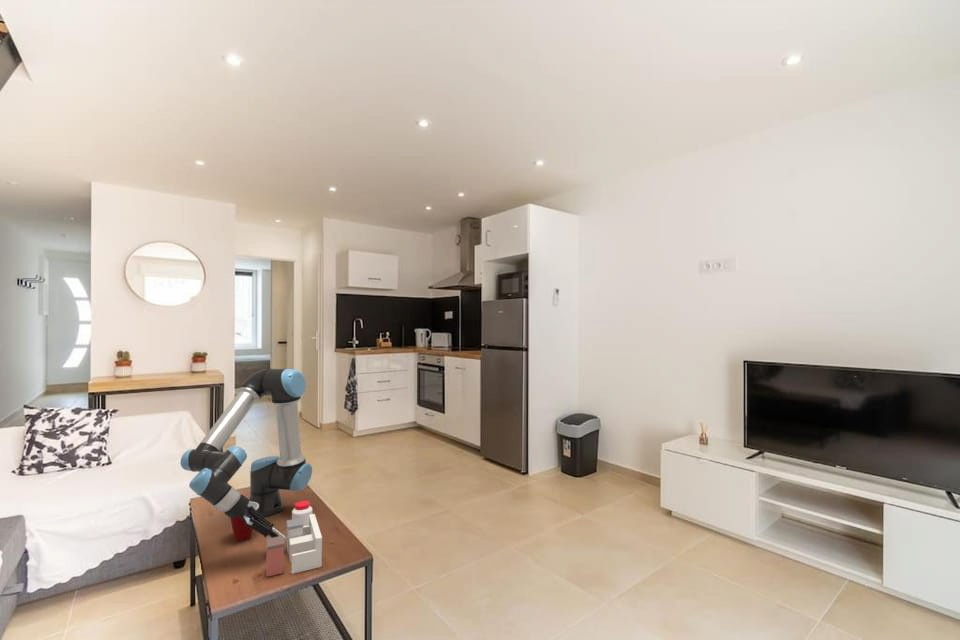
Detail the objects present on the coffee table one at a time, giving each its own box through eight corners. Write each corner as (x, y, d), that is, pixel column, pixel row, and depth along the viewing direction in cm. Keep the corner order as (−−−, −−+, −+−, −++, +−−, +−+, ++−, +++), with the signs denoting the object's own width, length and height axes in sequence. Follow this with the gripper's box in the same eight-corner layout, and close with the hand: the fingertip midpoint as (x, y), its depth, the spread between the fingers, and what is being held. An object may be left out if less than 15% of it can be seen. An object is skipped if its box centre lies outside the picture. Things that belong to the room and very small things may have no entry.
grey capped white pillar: (286, 546, 161) (286, 520, 161) (301, 543, 163) (301, 517, 164) (287, 554, 155) (287, 527, 156) (302, 551, 158) (303, 524, 158)
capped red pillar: (265, 567, 147) (266, 538, 147) (282, 563, 149) (282, 535, 150) (266, 577, 142) (266, 547, 142) (283, 573, 144) (284, 543, 144)
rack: (287, 545, 162) (287, 518, 163) (314, 539, 167) (314, 513, 167) (291, 573, 144) (292, 543, 144) (321, 566, 148) (322, 537, 148)
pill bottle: (304, 536, 170) (305, 508, 170) (287, 534, 171) (287, 506, 171) (316, 527, 177) (316, 500, 177) (299, 525, 179) (299, 498, 179)
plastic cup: (226, 547, 161) (226, 515, 161) (227, 534, 170) (228, 504, 170) (258, 540, 166) (259, 509, 166) (258, 529, 175) (259, 499, 175)
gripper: (224, 505, 155) (274, 542, 162) (222, 519, 143) (276, 558, 150) (241, 488, 157) (290, 525, 165) (240, 500, 146) (293, 540, 153)
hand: (283, 541), depth 158 cm, fingers closed
